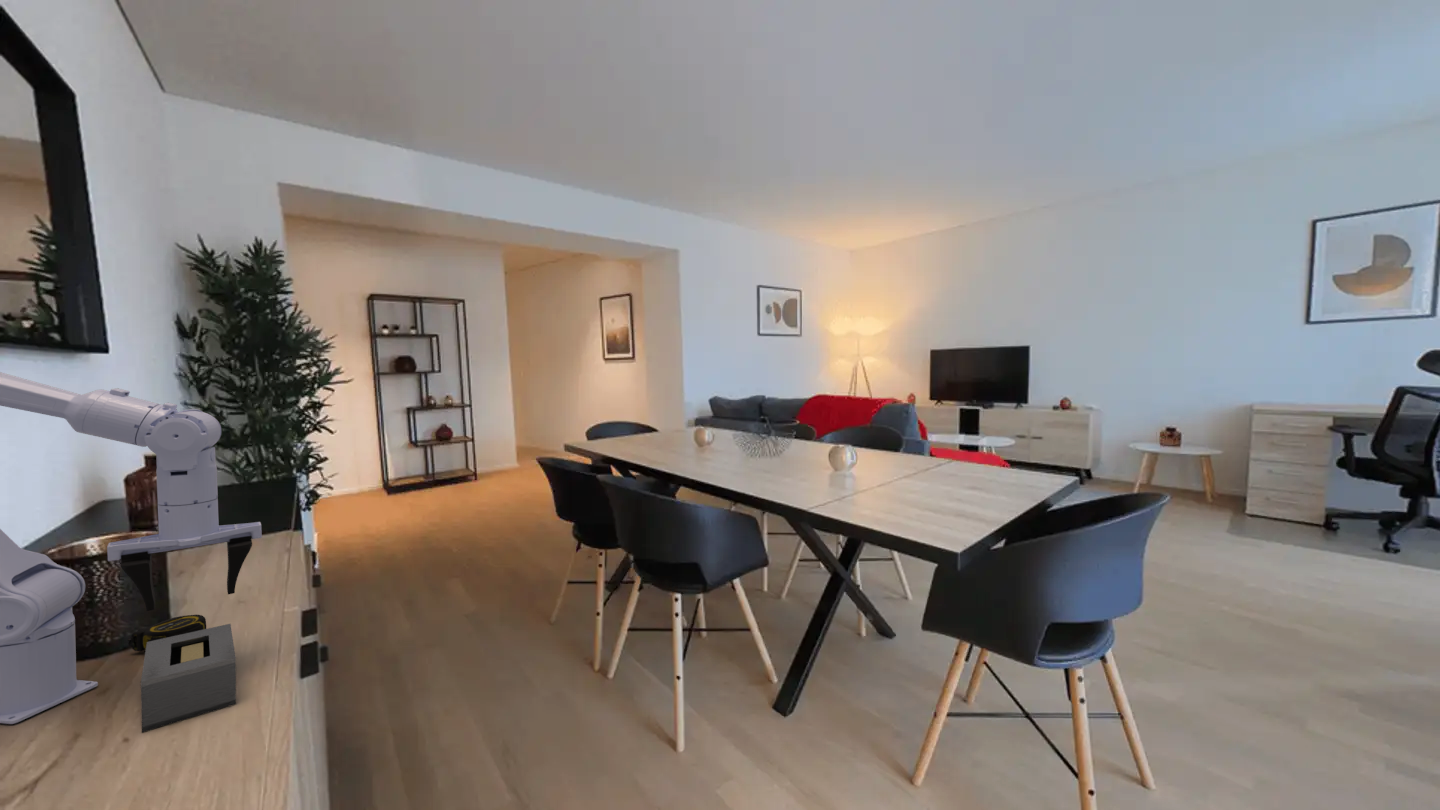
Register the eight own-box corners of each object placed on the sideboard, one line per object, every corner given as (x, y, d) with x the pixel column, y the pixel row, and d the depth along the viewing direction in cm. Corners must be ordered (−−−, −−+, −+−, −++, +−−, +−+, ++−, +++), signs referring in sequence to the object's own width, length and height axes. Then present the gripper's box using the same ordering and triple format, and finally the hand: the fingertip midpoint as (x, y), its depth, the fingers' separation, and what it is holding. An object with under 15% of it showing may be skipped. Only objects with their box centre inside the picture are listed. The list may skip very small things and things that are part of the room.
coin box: (147, 686, 69) (146, 642, 69) (230, 664, 75) (230, 623, 75) (141, 732, 61) (140, 681, 61) (236, 704, 67) (235, 657, 66)
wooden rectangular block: (182, 684, 69) (181, 647, 69) (203, 678, 71) (203, 642, 70) (181, 702, 66) (180, 662, 65) (203, 695, 67) (203, 657, 67)
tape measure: (183, 633, 83) (182, 610, 83) (218, 638, 82) (218, 615, 82) (127, 655, 77) (127, 630, 77) (165, 661, 75) (165, 635, 75)
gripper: (102, 516, 63) (107, 627, 64) (262, 498, 73) (265, 593, 74) (108, 505, 68) (113, 607, 69) (258, 489, 78) (260, 579, 79)
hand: (192, 599), depth 72 cm, fingers open, 7 cm apart
